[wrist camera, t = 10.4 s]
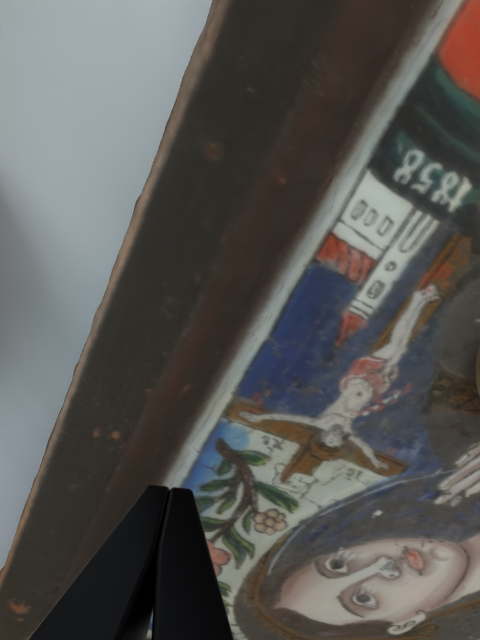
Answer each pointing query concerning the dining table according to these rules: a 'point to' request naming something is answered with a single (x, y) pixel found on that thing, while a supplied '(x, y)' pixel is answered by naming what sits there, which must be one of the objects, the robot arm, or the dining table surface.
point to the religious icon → (293, 332)
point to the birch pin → (478, 371)
